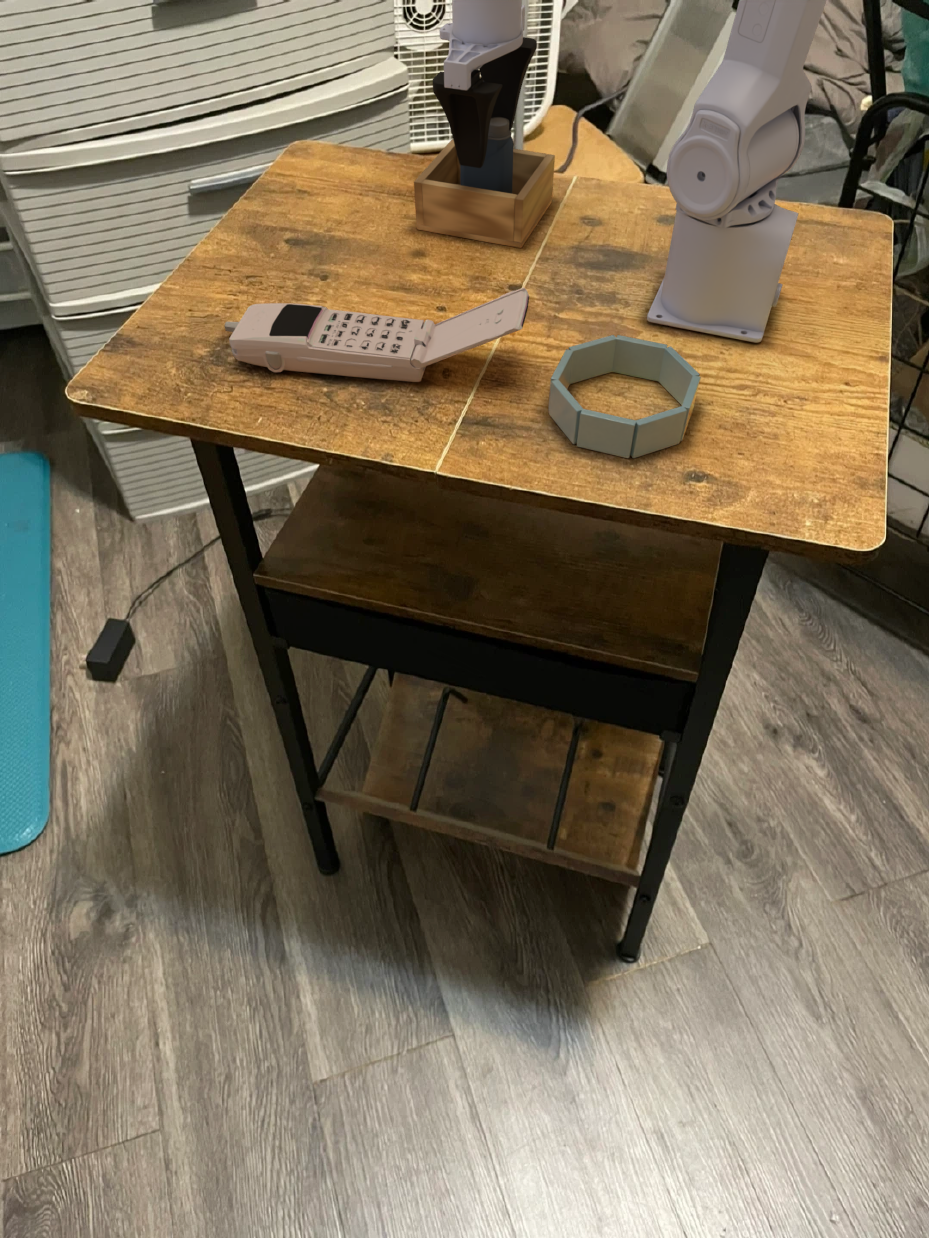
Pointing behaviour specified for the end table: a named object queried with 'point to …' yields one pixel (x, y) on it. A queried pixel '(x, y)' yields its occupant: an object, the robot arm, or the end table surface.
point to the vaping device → (493, 161)
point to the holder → (484, 199)
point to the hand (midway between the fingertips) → (486, 147)
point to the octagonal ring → (613, 430)
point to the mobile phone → (366, 338)
